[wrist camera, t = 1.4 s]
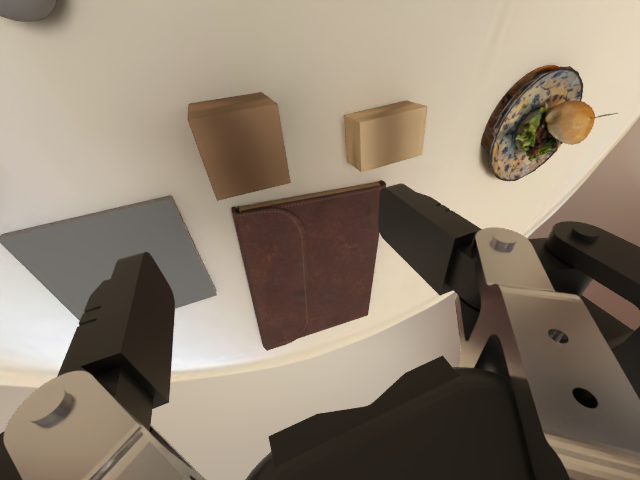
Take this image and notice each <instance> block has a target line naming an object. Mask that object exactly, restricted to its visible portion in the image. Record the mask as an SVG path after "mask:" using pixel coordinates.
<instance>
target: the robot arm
mask: <svg viewBox="0 0 640 480" xmlns="http://www.w3.org/2000/svg"><path fill="white" fill-rule="evenodd" d="M378 228H379V232H380V234H381V236H382V238H383V239H384V240H385V241H386V242H387V243H388V244H389V245H390V246H391V247H392V248H393V249H394V250H395V251H396V252H397V253H398V254H399V255H400V256H401V257H402V258H403V259H404V260H405V261H406V262H407V263H408V264H409V265H410V266H411V267H412V268H413V269H414V270H415V271H416V272H417V273H418V274H419V275H420V276H421V277H422V278H423V279H424V280H425V281H426V282H427V283H428V284H429V285H430V286H431V287H432V288H433V289H434V290H435V291H436V292H437V293H438V294H439V295H442V294H445V293H447V292H450V291H452V290H454V291H455V292H456V293H457V295H456V299H455V304H456V312H457V320H458V329H459V337H460V345H461V357H460V364H459V367H451V365H450V364H449V363H448V362H447V360H446V359H445V358H444V357H443V356H441V357H439V358H437V359H435V360H432V361H430V362H428V363H426V364H424V365H422V366H419V367H417V368H415V369H413V370H411V371H409V372H407V373H405V374H404V375H403V376H401V377H400V378H399V380H397V381H396V382H395V383H394V384H393V385H392V386H391V387H390V388H388V389H387V390H386V391H385V392H384V393H383V394H382V395H381V396H380V397H379V398H378V399H377V400H375V401H374V402H373V403H372V404H371V405H368V406H365V407H360V408H353V409H347V410H340V411H334V412H328V413H321V414H316V415H314V416H312V417H310V418H307V419H305V420H303V421H301V422H299V423H297V424H295V425H292V426H290V427H288V428H286V429H284V430H282V431H280V432H277V433H275V434H273V435H271V436H269V441H270V446H271V452H270V453H269V454H268V455H267V456H266V457H265V458H264V459H263V460H262V461H261V462H260V463H259V464H258V465H257V466H256V467H255V468H254V469H253V470H252V472H251V473H250V474H249V476H248V477H247V479H246V480H640V327H639V328H638V329H637V330H635V331H634V330H632V329H630V328H629V327H627V326H626V325H624V324H623V323H622V322H620V321H619V320H617V319H616V318H614V317H613V316H611V315H610V314H608V313H607V312H606V311H604V310H603V309H601V308H600V307H598V306H597V305H595V304H594V303H592V302H591V301H589V300H588V299H587V298H585V297H584V296H582V293H583V292H584V290H585V289H586V288H587V286H588V285H589V284H590V282H591V281H592V280H593V279H594V280H596V281H597V282H599V283H600V284H602V285H604V286H605V287H607V288H609V289H610V290H612V291H614V292H615V293H617V294H618V295H620V296H622V297H623V298H625V299H626V300H628V301H629V302H631V303H633V304H634V305H635V306H637V307H638V308H639V310H640V247H638V246H636V245H634V244H632V243H630V242H628V241H626V240H624V239H622V238H619V237H617V236H615V235H613V234H611V233H609V232H607V231H605V230H603V229H600V228H598V227H595V226H593V225H589V224H585V223H581V222H572V221H571V222H570V221H569V222H568V221H567V222H560V223H557V224H555V226H554V227H553V228H552V230H551V232H550V234H549V236H548V238H538V239H527V238H526V237H524V236H523V235H521V234H519V233H517V232H514V231H512V230H508V229H504V228H494V227H493V228H485V229H480V228H479V227H477V226H476V225H474V224H472V223H471V222H469V221H468V220H466V219H464V218H463V217H461V216H460V215H458V214H457V213H455V212H453V211H452V210H451V211H450V210H449V208H447V207H445V206H444V205H441V203H439V202H438V201H436V200H434V199H433V198H431V197H429V196H426V195H423V194H420V193H417V192H415V191H413V190H412V189H410V188H409V187H407V186H406V185H404V184H397V185H393V186H389V187H386V188H382V189H381V191H380V194H379V212H378ZM84 312H85V313H84V314H82V317H81V319H80V322H79V325H80V326H79V327H77V329H76V332H75V334H74V337H73V339H72V342H71V344H70V346H69V349H68V351H67V354H66V356H65V359H64V361H63V364H62V366H61V369H60V371H59V374H58V376H57V377H56V378H54V379H52V380H50V381H49V382H47V383H45V384H44V385H42V386H41V387H40V388H38V389H37V390H36V391H35V392H33V393H32V394H31V395H30V396H29V397H28V398H27V399H26V400H25V401H24V402H23V403H22V404H21V405H20V406H19V407H18V408H17V410H16V411H15V412H14V414H13V415H12V417H11V419H10V420H9V422H8V424H7V426H6V429H5V431H4V432H2V433H1V434H0V480H206V479H205V478H204V477H202V475H200V474H199V473H198V472H197V471H196V470H195V469H194V468H193V467H192V466H191V465H190V464H189V462H187V460H186V459H184V457H182V455H181V454H180V453H179V452H178V451H177V450H176V449H175V448H174V447H173V446H172V445H171V444H170V443H169V442H168V441H167V440H166V439H165V438H164V437H163V436H162V435H161V434H160V433H159V432H158V431H157V430H156V429H155V428H154V427H153V426H152V425H151V415H152V409H154V408H156V407H159V406H161V405H163V404H166V403H169V392H170V377H171V361H172V345H173V329H174V313H175V299H174V295H173V292H172V289H171V287H170V285H169V284H168V282H167V280H166V279H165V277H164V275H163V274H162V272H161V270H160V269H159V267H158V265H157V264H156V262H155V260H154V259H153V257H152V256H151V254H150V253H148V252H143V253H139V254H136V255H132V256H128V257H125V258H121V259H118V260H117V262H116V265H115V268H114V271H113V273H112V276H111V279H108V280H104V281H103V282H102V283H101V284H100V285H99V286H98V287H97V288H96V290H95V291H94V292H93V293H92V294H91V295H90V297H89V300H88V302H87V304H86V307H85V309H84Z"/></svg>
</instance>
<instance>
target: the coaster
mask: <svg viewBox="0 0 640 480" xmlns="http://www.w3.org/2000/svg"><path fill="white" fill-rule="evenodd" d="M0 243H1V244H2V245H3V246H4V247H5V248H6V249H7V250H8V251H9V252H10V253H11V254H12V255H13V256H14V257H15V258H16V259H17V260H18V261H19V262H20V263H21V264H22V265H23V266H25V267H26V268H27V269H28V270H29V271H30V272H31V273H32V274H33V275H34V276H35V277H36V278H37V279H38V280H39V281H40V282H41V283H42V284H43V285H44V286H45V287H46V288H47V289H48V290H49V291H50V292H51V293H52V294H53V295H54V296H55V297H56V298H57V299H58V300H59V301H60V302H61V303H62V304H63V305H64V306H65V307H66V308H67V309H68V310H69V311H70V312H71V313H72V314H73V315H74V316H75V317H76V318H77V319H79V320H80V319H81V317H82V314H84V313H85V312H84V309H85V307H86V304H87V302H88V300H89V297H90V295H91V294H92V293H93V292H94V291H95V290H96V288H97V287H98V286H99V285H100V284H101V283H102V282H103V281H104V280H108V279H111V276H112V273H113V271H114V268H115V265H116V262H117V260H118V259H121V258H125V257H128V256H132V255H136V254H139V253H143V252H148V253H150V254H151V256H152V257H153V259H154V260H155V262H156V264H157V265H158V267H159V269H160V270H161V272H162V274H163V275H164V277H165V279H166V280H167V282H168V284H169V285H170V287H171V289H172V292H173V295H174V299H175V308H178V307H181V306H184V305H188V304H191V303H194V302H197V301H200V300H203V299H206V298H209V297H212V296H216V290H215V288H214V285H213V283H212V281H211V279H210V277H209V275H208V273H207V271H206V268H205V266H204V264H203V262H202V260H201V258H200V256H199V254H198V251H197V249H196V247H195V245H194V243H193V241H192V239H191V237H190V234H189V232H188V230H187V228H186V226H185V224H184V222H183V220H182V217H181V215H180V213H179V211H178V209H177V207H176V205H175V203H174V200H173V198H172V196H167V197H163V198H159V199H154V200H150V201H146V202H141V203H137V204H133V205H128V206H124V207H120V208H115V209H111V210H107V211H102V212H98V213H93V214H89V215H85V216H80V217H76V218H72V219H67V220H63V221H59V222H54V223H50V224H46V225H41V226H37V227H33V228H28V229H24V230H20V231H15V232H11V233H7V234H2V235H1V236H0Z"/></svg>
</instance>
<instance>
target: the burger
mask: <svg viewBox="0 0 640 480" xmlns="http://www.w3.org/2000/svg"><path fill="white" fill-rule="evenodd" d="M582 92H583V83H582V80H581V78H580V76H579V73H578V72H577V71H575V70H574V69H573V68H572V67H570V66H569V67H558V66H556V65H547V66H544V67H540V68H538V69H536V70H534V71H532V72H530V73H529V74H527V75H526V76H525V77H523V78H522V79H521V80H519V81H518V82H517V83H516V84H515V85H514V86H513V87H512V88H511V89H510V90H509V91H508V92H507V93H506V95H505V96H504V97H503V99H502V100H501V101H500V102H499V104H498V106H497V107H496V109H495V110H494V112H493V113H492V115H491V117H490V119H489V121H488V123H487V125H486V130H485V134H483V137H482V140H481V144H482V145H483V146H484V147H485V148H486V150H488V152H489V161H488V162H489V168H490V169H491V170H492V171H493V172H494V174H495V176H496V177H497V178H499V179H501V180H503V181H516V180H518V179H520V178H522V177H524V176H526V175H528V174H530V173H531V172H533V171H535V170H536V169H537V168H538V167H540V166H541V165H542V164H544V163H545V162H546V161H547V160H548V159H549V158H550V157H551V156H552V155H553V154H554V153H555V152H556V151H557V149H558V148H559V147H560V145H561V144H562V143H565V144H571V145H573V144H577V143H580V142H581V141H583V140H584V139H585V138H586V137H587V136H588V134H589V133H590V131H591V129H592V127H593V124H594V119H595V118H596V117H595V114H594V111H593V110H592V107H590V106H589V105H588V104H586V103H585V102H581V99H582ZM614 114H617V113H614ZM609 115H612V114H609ZM601 116H606V115H601ZM601 116H598V117H601Z"/></svg>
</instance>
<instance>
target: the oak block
mask: <svg viewBox="0 0 640 480" xmlns="http://www.w3.org/2000/svg"><path fill="white" fill-rule="evenodd" d="M426 113H427V106H425V105H421V104H417V103H414V102H410V101H403V102H399V103H394V104H390V105H386V106H382V107H377V108H373V109H369V110H365V111H360V112H356V113H352V114H348V115H344V118H345V134H346V150H347V162H349V163H350V164H351V165H353V166H354V167H355V168H356V169H358V170H359V171H360V172H363V171H367V170H370V169H374V168H377V167H381V166H384V165H388V164H391V163H395V162H398V161H402V160H405V159H409V158H412V157H416V156H419V155H422V149H423V140H424V131H425V122H426Z"/></svg>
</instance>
